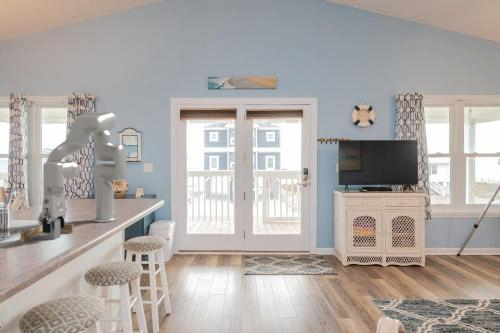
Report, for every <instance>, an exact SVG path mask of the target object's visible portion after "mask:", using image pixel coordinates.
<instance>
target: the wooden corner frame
mask: <svg viewBox="0 0 500 333" xmlns="http://www.w3.org/2000/svg"><path fill="white" fill-rule="evenodd" d="M42 233H43V232H42V226H40V225H38V226H37V227H33V228H29V229H26V230H24V231H21V232H20V243H25V242H26V241H29V240H33V239H36V236H37V235H39V234H42ZM73 233H74V224H73V223H66V224H64V228H60V234H73Z"/></svg>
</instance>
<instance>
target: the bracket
mask: <svg viewBox="0 0 500 333" xmlns="http://www.w3.org/2000/svg"><path fill="white" fill-rule="evenodd" d="M50 223H51V232H50V233H42V234H39V235H37V236H36V238H35V239H36V240H57V239H59V238H61V233H60V219H52V220H51V221H50Z"/></svg>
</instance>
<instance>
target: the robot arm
mask: <svg viewBox="0 0 500 333" xmlns="http://www.w3.org/2000/svg"><path fill="white" fill-rule="evenodd" d="M117 123H118V119H117V116H116V115H115V113H113V112H105V111H102V112H101V111H91V112H85V113H84V114H83V115H78V116H76V117H75V118H74V119H73V123H72V124H71V127H70V129H69V131H68V135H67V137H66V139H65V140H64V141H62V142H61V143H60V144H58V145H57V146H56V147H55V148H53V150H52V151H51V152H50V153H49V155H48V158H47V160H46V162H45V163H43V168H42V169H43V171H42V172H43V175H42V177H43V179H42V180H43V181H42V182H43V194H42V195H43V196H42V198H43V199H42V206H41V208H42V209H41V210H42V211H41V212H40V213H39V216H40V220H41V221H42V222H41V223H42V232H43V233H47V234H48V233H50V232H51V223H50V221H51V218H58V219H60V228H64V221H65V219H66V215H67V207H66V198H65V193H64V187H65V186H64V183H65V182H64V179H74V178H76V177H78V175H80V173H81V172H80V171H81V168H80V165H79V164H78V163H77V162H74V161H63V159H65V158H66V157H67V156H69V155H71V154H73V153H76V152H79V151H81V150H83V149H84V148H85V147H86V145H87V142H88V139H89V136H90V135H91V133H92V136H93V146H94V155H95V159H97V161H100V162H106V163H98V164H96V165H95V166H94V167H93V170H92V174H93V178H94V179H93V180H94V217H92V219H91V221H92V222H93V223H107V222H108V223H110V222H114V221H116V220H118V219H117V217H116V216H115V214H116V210H114V209H115V204H114V203H115V197H114V196H115V190H114V186H113V183H112V182H122V181H124V180H126V178H127V172H128V169H127V153H126V150H125V147H124V146H123V145H122V144H119V143H112V138H111V132H110V130H112V129H114V128H115V127H116V126H117ZM107 162H108V163H107ZM109 162H114V163H109ZM39 216H38V217H39ZM47 219H48V220H47Z"/></svg>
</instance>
